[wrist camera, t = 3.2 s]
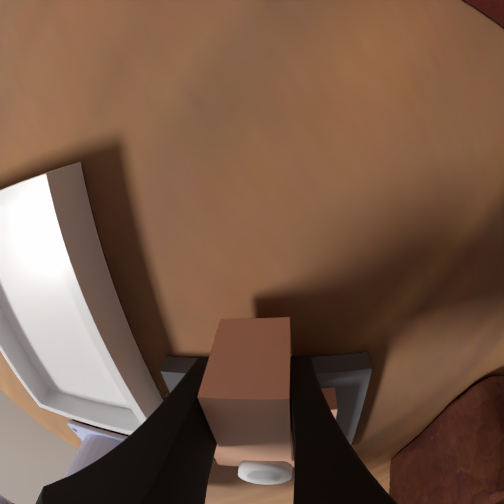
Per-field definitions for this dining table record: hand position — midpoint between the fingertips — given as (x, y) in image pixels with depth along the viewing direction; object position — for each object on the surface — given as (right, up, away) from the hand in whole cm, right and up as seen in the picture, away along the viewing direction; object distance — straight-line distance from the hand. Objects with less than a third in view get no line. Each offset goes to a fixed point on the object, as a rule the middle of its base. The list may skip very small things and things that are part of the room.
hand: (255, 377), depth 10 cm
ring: (+1, -3, +3) cm, 4 cm away
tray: (-11, +1, +3) cm, 11 cm away
